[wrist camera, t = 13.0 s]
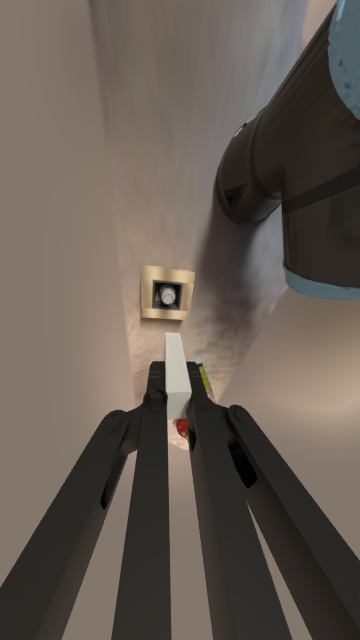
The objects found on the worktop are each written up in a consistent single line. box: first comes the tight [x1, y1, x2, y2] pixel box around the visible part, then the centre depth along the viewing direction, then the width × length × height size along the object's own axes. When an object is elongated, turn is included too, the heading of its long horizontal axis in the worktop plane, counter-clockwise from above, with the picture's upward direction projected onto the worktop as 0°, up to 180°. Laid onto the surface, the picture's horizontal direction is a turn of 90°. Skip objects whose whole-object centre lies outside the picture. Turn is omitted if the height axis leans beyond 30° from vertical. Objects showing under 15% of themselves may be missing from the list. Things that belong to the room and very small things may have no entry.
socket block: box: [141, 265, 195, 320], centre depth 33 cm, size 12×12×5 cm
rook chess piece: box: [159, 283, 176, 305], centre depth 32 cm, size 4×4×8 cm
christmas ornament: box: [176, 418, 188, 441], centre depth 58 cm, size 9×9×10 cm
